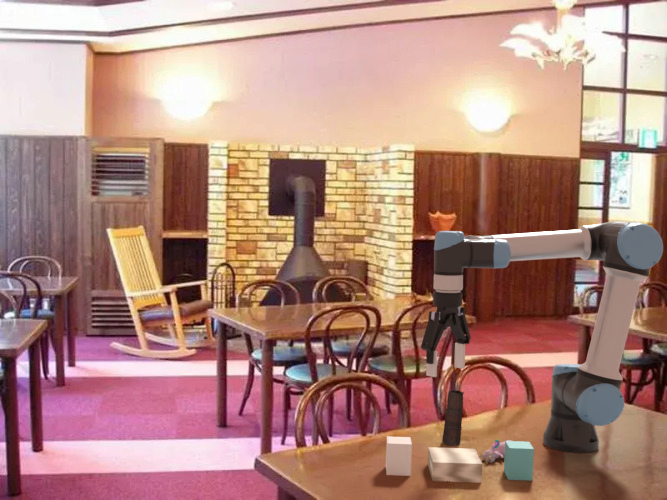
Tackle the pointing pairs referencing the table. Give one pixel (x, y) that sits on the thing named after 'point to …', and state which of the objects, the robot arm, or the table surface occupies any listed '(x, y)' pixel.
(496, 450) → the pink animal figurine
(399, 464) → the off-white block
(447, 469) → the birch base
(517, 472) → the teal block
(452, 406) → the butter churn
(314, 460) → the table surface
